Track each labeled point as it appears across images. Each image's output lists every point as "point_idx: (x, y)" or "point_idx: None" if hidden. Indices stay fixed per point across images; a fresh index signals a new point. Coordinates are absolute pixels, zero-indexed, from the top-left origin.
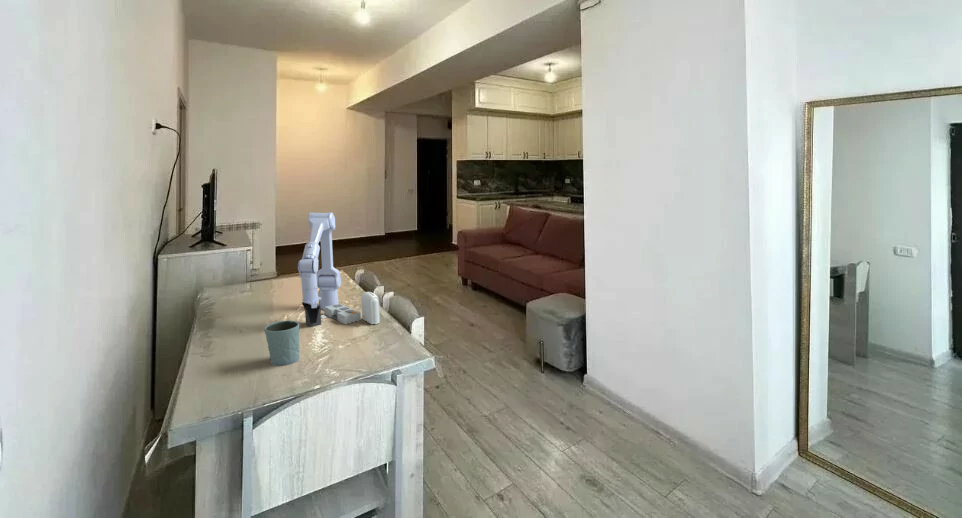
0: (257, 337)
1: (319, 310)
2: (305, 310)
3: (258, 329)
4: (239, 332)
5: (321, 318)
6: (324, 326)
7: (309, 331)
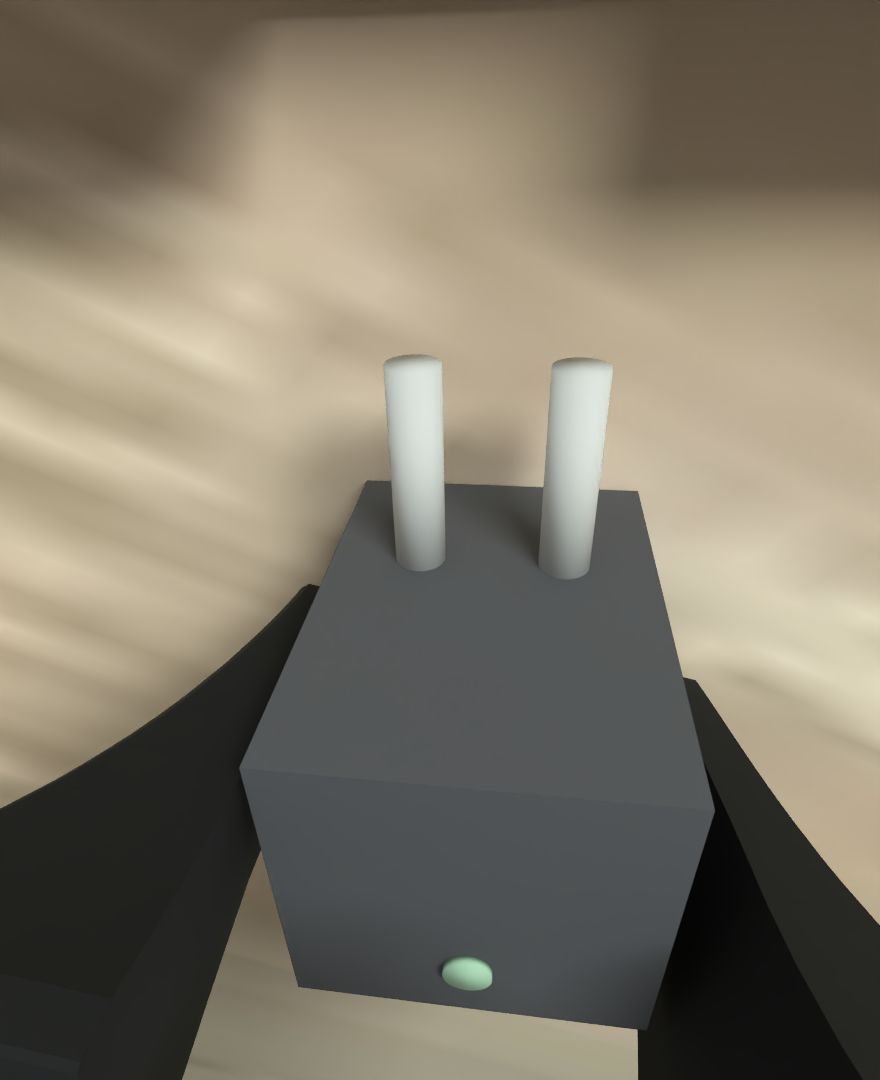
0: (472, 1073)
1: (706, 834)
2: (338, 986)
3: (212, 997)
4: (207, 1070)
5: (590, 524)
6: (839, 510)
7: (817, 790)
